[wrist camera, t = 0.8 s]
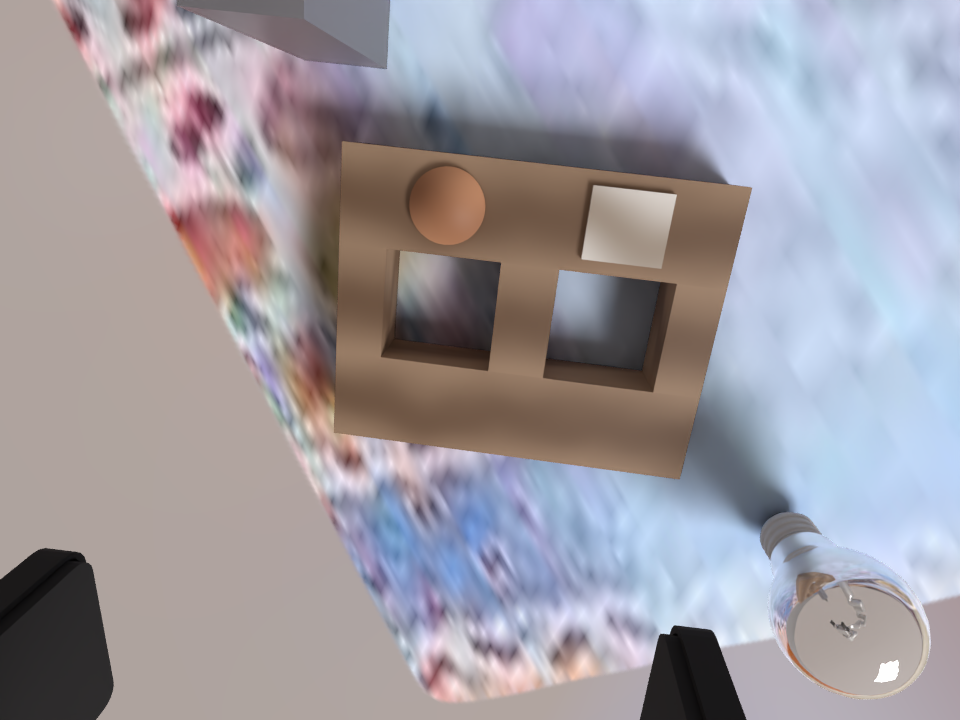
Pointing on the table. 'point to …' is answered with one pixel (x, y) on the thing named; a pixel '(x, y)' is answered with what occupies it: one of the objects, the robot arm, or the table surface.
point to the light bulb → (842, 613)
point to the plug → (308, 26)
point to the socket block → (529, 305)
